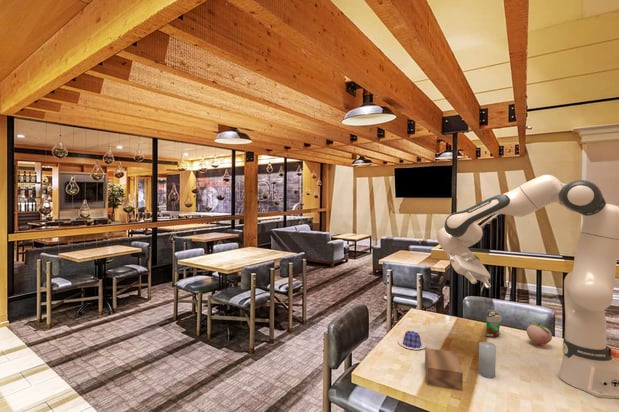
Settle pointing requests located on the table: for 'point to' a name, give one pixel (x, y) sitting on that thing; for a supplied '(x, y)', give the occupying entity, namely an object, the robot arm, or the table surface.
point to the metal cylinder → (487, 359)
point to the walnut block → (443, 369)
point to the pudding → (412, 341)
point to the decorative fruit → (539, 334)
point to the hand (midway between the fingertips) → (482, 285)
